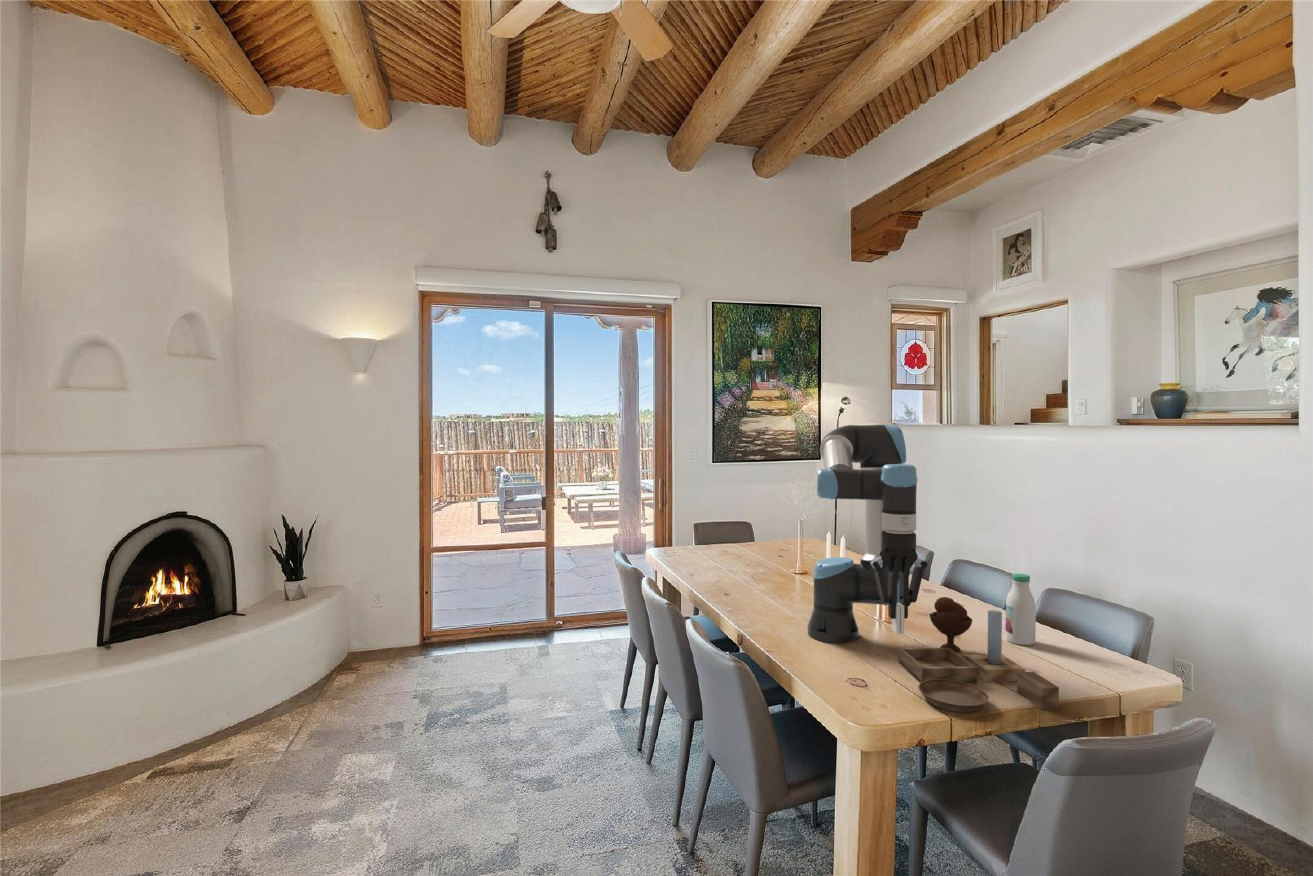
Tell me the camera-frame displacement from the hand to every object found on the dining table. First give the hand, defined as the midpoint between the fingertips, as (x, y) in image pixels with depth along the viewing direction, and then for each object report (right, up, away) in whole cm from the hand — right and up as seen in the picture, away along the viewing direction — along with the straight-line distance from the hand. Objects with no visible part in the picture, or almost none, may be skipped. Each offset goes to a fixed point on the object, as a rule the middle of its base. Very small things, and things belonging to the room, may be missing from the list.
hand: (898, 632), depth 143 cm
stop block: (+33, -16, +1) cm, 37 cm away
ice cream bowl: (+28, -16, +34) cm, 47 cm away
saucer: (+13, -17, +1) cm, 21 cm away
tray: (+17, -16, +17) cm, 29 cm away
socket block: (+32, -16, +17) cm, 39 cm away
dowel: (+32, -16, +17) cm, 39 cm away
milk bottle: (+52, -16, +40) cm, 68 cm away
